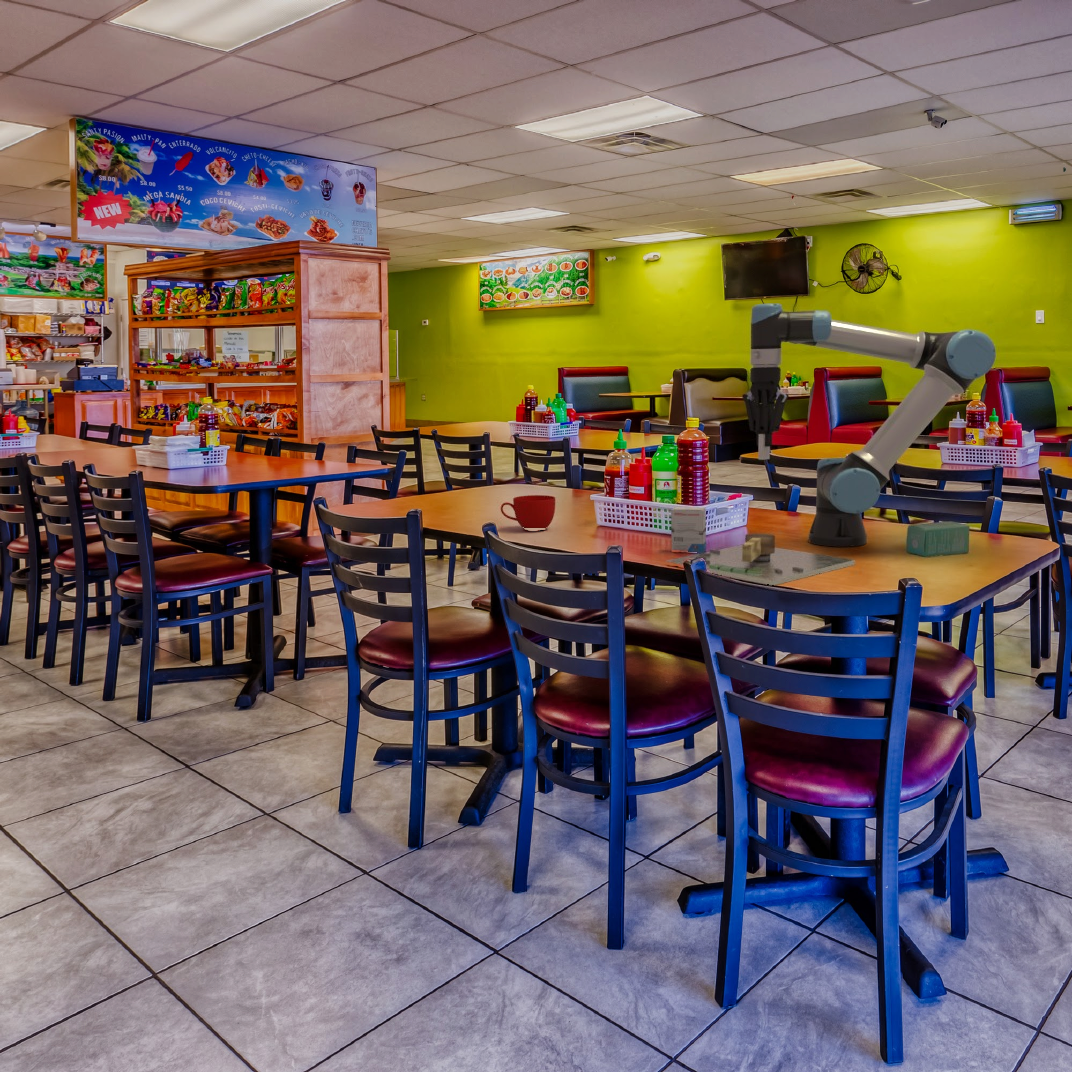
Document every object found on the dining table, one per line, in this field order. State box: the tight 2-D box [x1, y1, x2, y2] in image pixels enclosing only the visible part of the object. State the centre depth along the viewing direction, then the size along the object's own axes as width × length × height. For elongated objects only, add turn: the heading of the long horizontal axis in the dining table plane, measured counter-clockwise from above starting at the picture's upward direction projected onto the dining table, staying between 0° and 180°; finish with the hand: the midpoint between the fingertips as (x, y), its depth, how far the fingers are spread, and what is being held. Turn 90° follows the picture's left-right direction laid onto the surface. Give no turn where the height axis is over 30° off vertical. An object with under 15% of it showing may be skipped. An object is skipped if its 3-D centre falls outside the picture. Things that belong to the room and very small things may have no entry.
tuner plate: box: [666, 544, 856, 586], centre depth 232 cm, size 32×32×3 cm
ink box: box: [670, 506, 707, 554], centre depth 250 cm, size 9×5×12 cm, turn 70°
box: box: [905, 520, 971, 558], centre depth 241 cm, size 7×14×8 cm, turn 106°
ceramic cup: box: [500, 494, 556, 529], centre depth 290 cm, size 13×17×10 cm
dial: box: [741, 532, 776, 562], centre depth 226 cm, size 19×7×4 cm, turn 153°
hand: (763, 459), depth 244 cm, fingers closed
